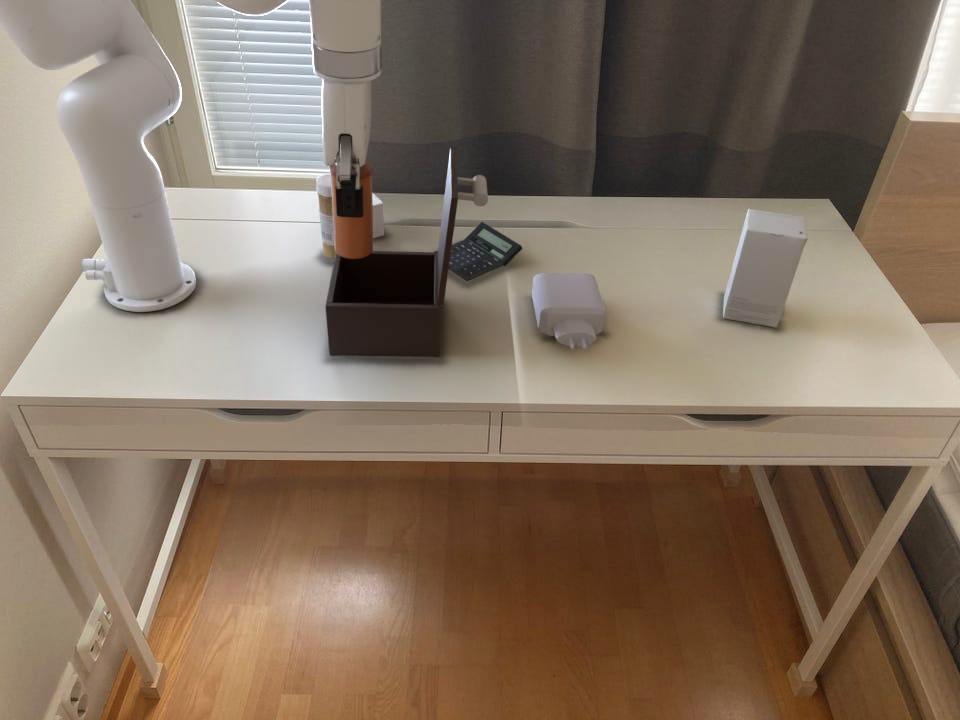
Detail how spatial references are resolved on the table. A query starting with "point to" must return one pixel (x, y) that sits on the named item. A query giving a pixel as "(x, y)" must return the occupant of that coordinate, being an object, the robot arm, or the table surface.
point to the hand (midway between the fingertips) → (352, 203)
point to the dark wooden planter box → (384, 305)
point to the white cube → (377, 217)
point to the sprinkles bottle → (326, 214)
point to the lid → (454, 216)
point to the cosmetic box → (764, 267)
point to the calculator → (481, 252)
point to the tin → (354, 218)
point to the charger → (568, 307)
